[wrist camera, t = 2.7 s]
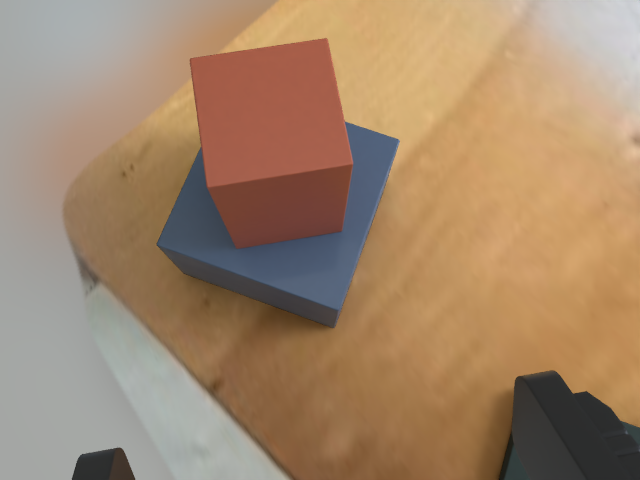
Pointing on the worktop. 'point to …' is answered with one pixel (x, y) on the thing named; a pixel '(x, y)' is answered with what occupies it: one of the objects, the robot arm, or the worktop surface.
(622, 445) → the robot arm
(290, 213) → the top block
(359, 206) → the base block
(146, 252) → the worktop surface
